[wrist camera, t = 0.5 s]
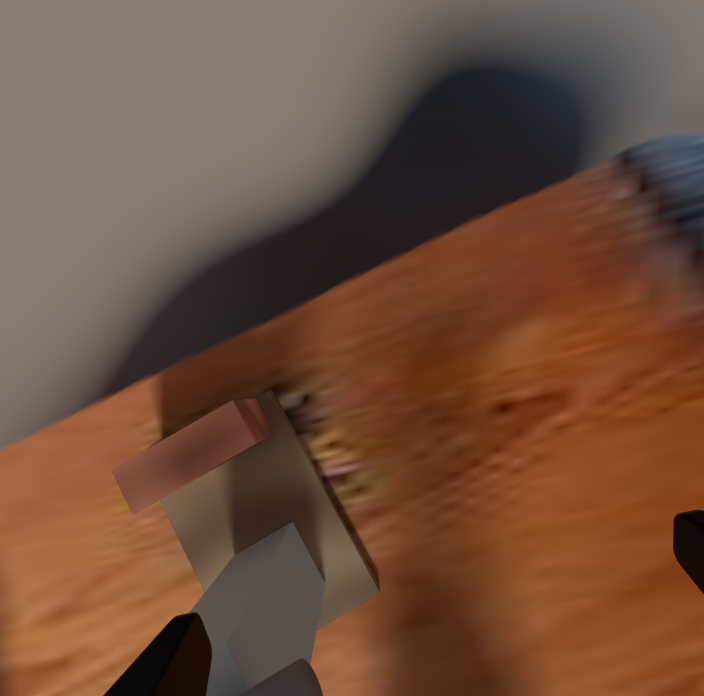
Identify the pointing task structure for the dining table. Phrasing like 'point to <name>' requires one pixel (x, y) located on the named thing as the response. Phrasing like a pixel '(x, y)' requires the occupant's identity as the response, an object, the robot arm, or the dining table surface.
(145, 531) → the dining table surface
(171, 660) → the robot arm
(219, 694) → the grey t-shaped piece
